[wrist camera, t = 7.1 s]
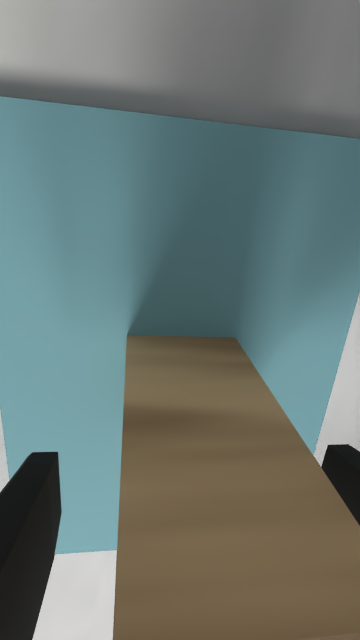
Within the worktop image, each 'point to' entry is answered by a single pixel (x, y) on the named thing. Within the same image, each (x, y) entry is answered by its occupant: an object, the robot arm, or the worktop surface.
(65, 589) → the worktop surface
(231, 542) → the oak peg
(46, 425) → the teal mat
